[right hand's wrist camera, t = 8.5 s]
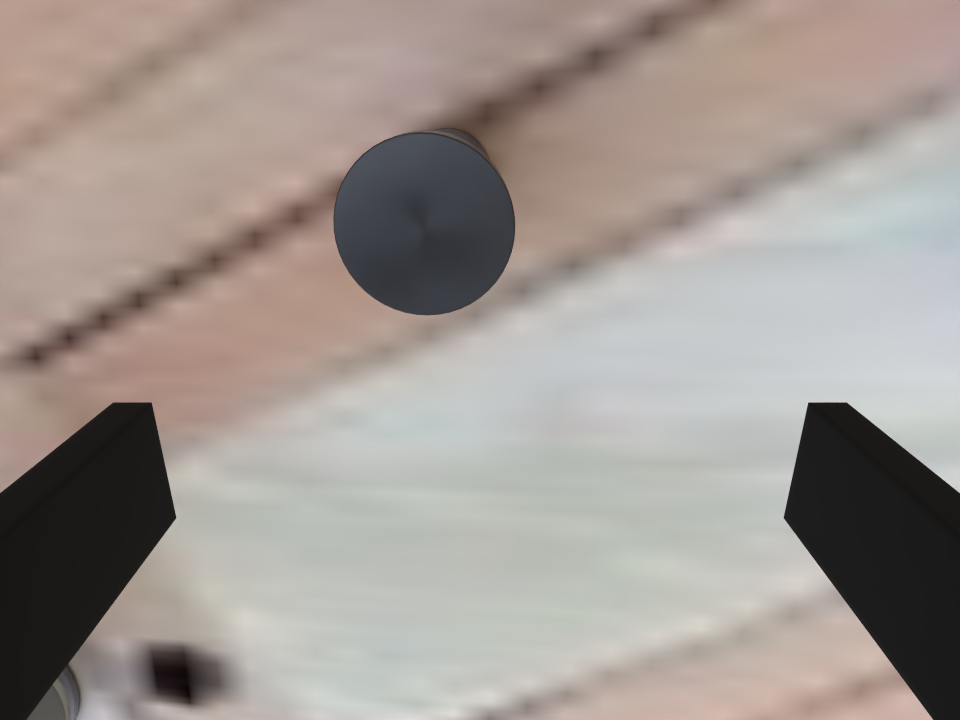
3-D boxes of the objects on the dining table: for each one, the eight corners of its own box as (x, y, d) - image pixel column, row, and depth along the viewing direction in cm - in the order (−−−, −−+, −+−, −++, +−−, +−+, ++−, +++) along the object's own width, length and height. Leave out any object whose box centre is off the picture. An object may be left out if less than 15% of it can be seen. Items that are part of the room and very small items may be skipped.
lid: (313, 202, 21) (295, 213, 19) (441, 92, 20) (437, 90, 18) (419, 326, 23) (413, 348, 21) (543, 231, 22) (551, 244, 20)
